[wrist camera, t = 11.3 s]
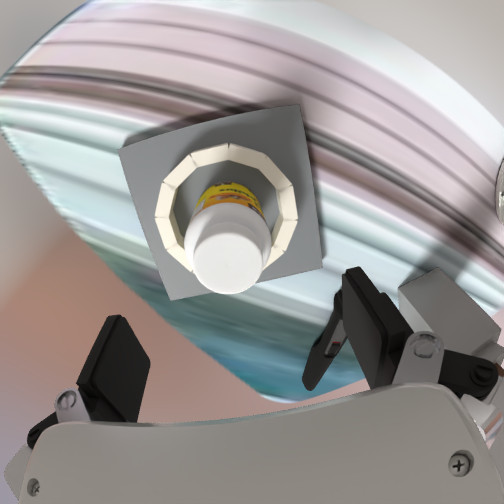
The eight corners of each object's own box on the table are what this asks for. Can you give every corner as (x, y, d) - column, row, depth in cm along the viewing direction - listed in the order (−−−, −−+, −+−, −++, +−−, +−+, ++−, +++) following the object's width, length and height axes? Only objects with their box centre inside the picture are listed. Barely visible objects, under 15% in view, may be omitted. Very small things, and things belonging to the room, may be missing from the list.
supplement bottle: (272, 201, 25) (298, 252, 15) (236, 249, 26) (242, 320, 17) (218, 166, 23) (211, 197, 14) (185, 219, 25) (161, 278, 16)
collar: (296, 104, 22) (305, 102, 19) (319, 263, 29) (328, 278, 26) (121, 148, 22) (108, 152, 19) (172, 295, 29) (167, 312, 27)
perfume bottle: (437, 303, 34) (506, 389, 18) (400, 323, 35) (463, 422, 18) (437, 267, 31) (524, 355, 15) (397, 287, 32) (478, 394, 16)
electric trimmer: (293, 374, 37) (297, 392, 35) (335, 287, 31) (344, 304, 28) (316, 375, 38) (321, 391, 35) (362, 291, 31) (372, 307, 29)
